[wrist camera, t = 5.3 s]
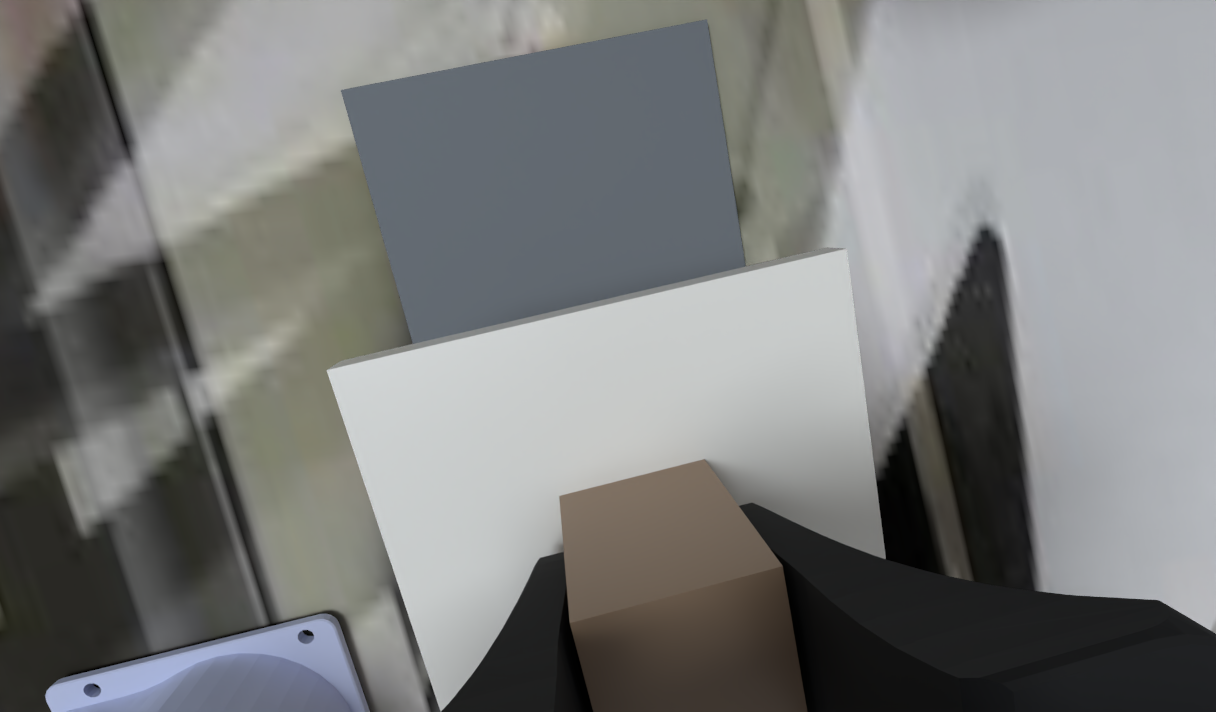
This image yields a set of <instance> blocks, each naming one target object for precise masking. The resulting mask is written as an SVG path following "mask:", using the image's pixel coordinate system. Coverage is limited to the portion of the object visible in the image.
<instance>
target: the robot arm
mask: <svg viewBox="0 0 1216 712" xmlns="http://www.w3.org/2000/svg"><path fill="white" fill-rule="evenodd" d="M739 507H740V508H741V510H742V511H743V513H744V514H745V515H746V517H747V518H748V519H749V521H750V522H751V523H752V525H753V526H754V528H755V529H756V530H757V532H758V533H759V534H760V536H761V537H762V539H763V540H764V541H765V543H766V544H767V545H768V547H769V548H770V549H771V551H772V552H773V554H774V555H775V556H776V558H777V559H778V560H779V562H780V563H781V564H782V566H783V571H784V577H785V583H786V589H787V594H788V600H789V606H790V612H791V618H792V624H793V630H794V636H795V641H796V647H797V653H798V659H799V665H800V671H801V677H802V683H803V689H804V694H805V700H806V706H807V712H1216V634H1215V633H1213V632H1212V631H1210V630H1208V629H1207V628H1205V627H1203V626H1202V625H1200V624H1198V623H1197V622H1195V621H1193V620H1191V619H1190V618H1188V617H1186V616H1185V615H1183V614H1181V613H1180V612H1178V611H1176V610H1174V609H1173V608H1171V607H1169V606H1168V605H1166V604H1164V603H1162V602H1161V601H1158V600H1144V599H1126V598H1108V597H1090V596H1074V595H1063V594H1055V593H1046V592H1038V591H1029V590H1021V589H1014V588H1008V587H1001V586H995V585H989V584H984V583H979V582H974V581H969V580H964V579H959V578H954V577H949V576H944V575H940V574H936V573H932V572H928V571H924V570H921V569H917V568H914V567H910V566H907V565H903V564H900V563H896V562H893V561H889V560H886V559H883V558H880V557H877V556H874V555H871V554H869V553H866V552H863V551H861V550H858V549H855V548H853V547H850V546H847V545H845V544H842V543H840V542H838V541H835V540H833V539H830V538H828V537H826V536H823V535H821V534H819V533H817V532H814V531H812V530H810V529H808V528H806V527H803V526H801V525H799V524H797V523H795V522H793V521H791V520H789V519H787V518H784V517H782V516H780V515H778V514H776V513H774V512H772V511H770V510H768V509H766V508H764V507H762V506H759V505H757V504H755V503H748V504H744V505H740V506H739ZM302 630H309V631H311V632H312V633H313V634H314V636H307V635H305V634H304V633H303V631H302ZM93 683H94V684H96V685H98V686H99V687H100V688H97V687H95V686H94V685H93ZM45 697H46V701H47V703H48V705H49V707H50V709H51V711H52V712H370V710H369V708H368V705H367V702H366V699H365V696H364V693H363V690H362V687H361V685H360V682H359V679H358V676H357V673H356V670H355V667H354V664H353V662H352V659H351V656H350V653H349V650H348V647H347V644H346V641H345V639H344V636H343V633H342V630H341V627H340V624H339V622H338V620H337V619H336V618H335V617H334V616H332V615H329V614H318V615H314V616H310V617H306V618H302V619H298V620H294V621H290V622H286V623H282V624H278V625H274V626H270V627H266V628H262V629H258V630H253V631H249V632H245V633H241V634H237V635H233V636H229V637H225V638H221V639H217V640H213V641H209V642H205V643H201V644H197V645H193V646H189V647H185V648H181V649H177V650H173V651H169V652H165V653H161V654H157V655H153V656H149V657H145V658H141V659H137V660H133V661H129V662H125V663H121V664H117V665H113V666H109V667H105V668H101V669H97V670H93V671H89V672H84V673H80V674H76V675H72V676H68V677H64V678H62V679H59V680H57V681H56V682H55V683H54V684H53V685H52V686H51V687H50V688H49V689H48V690H47V692H46V695H45ZM441 712H593V709H592V705H591V701H590V698H589V694H588V690H587V686H586V683H585V679H584V675H583V671H582V668H581V664H580V660H579V656H578V652H577V649H576V645H575V641H574V637H573V634H572V630H571V626H570V621H569V609H568V597H567V585H566V572H565V560H564V552H561V553H557V554H553V555H549V556H545V557H541V558H539V560H538V561H537V563H536V564H535V566H534V568H533V570H532V573H531V575H530V577H529V579H528V581H527V583H526V585H525V587H524V589H523V591H522V593H521V595H520V597H519V599H518V601H517V603H516V605H515V607H514V608H513V610H512V612H511V614H510V616H509V617H508V619H507V621H506V623H505V625H504V626H503V628H502V630H501V631H500V633H499V635H498V636H497V638H496V639H495V641H494V643H493V644H492V646H491V647H490V649H489V650H488V652H487V654H486V655H485V657H484V658H483V660H482V661H481V663H480V664H479V666H478V667H477V668H476V670H475V671H474V672H473V674H472V675H471V676H470V678H469V679H468V680H467V681H466V683H465V684H464V685H463V686H462V688H461V689H460V690H459V691H458V693H457V694H456V695H455V696H454V698H453V699H452V700H451V701H450V702H449V704H448V705H447V706H446V707H445V708H444V709H443V710H442V711H441Z"/></svg>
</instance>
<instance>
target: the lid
mask: <svg viewBox="0 0 1216 712" xmlns="http://www.w3.org/2000/svg"><path fill="white" fill-rule="evenodd" d="M327 373H328V376H329V379H330V382H331V385H332V388H333V391H334V394H335V397H336V400H337V403H338V406H339V408H340V411H341V414H342V417H343V420H344V423H345V426H346V429H347V432H348V435H349V438H350V441H351V444H352V447H353V450H354V453H355V456H356V459H357V462H358V465H359V468H360V471H361V474H362V477H363V480H364V483H365V486H366V489H367V492H368V495H369V498H370V501H371V504H372V507H373V510H374V513H375V516H376V519H377V522H378V525H379V528H380V531H381V534H382V537H383V540H384V543H385V546H386V549H387V552H388V555H389V558H390V561H391V564H392V567H393V570H394V573H395V576H396V579H397V582H398V585H399V588H400V591H401V594H402V597H403V600H404V603H405V606H406V609H407V612H408V615H409V618H410V621H411V624H412V627H413V630H414V633H415V636H416V639H417V642H418V645H419V648H420V651H421V654H422V657H423V660H424V663H425V666H426V669H427V672H428V675H429V678H430V681H431V684H432V687H433V690H434V693H435V696H436V699H437V702H438V705H439V708H440V711H442V710H443V709H444V708H445V707H446V706H447V705H448V704H449V702H450V701H451V700H452V699H453V698H454V696H455V695H456V694H457V693H458V691H459V690H460V689H461V688H462V686H463V685H464V684H465V683H466V681H467V680H468V679H469V678H470V676H471V675H472V674H473V672H474V671H475V670H476V668H477V667H478V666H479V664H480V663H481V661H482V660H483V658H484V657H485V655H486V654H487V652H488V650H489V649H490V647H491V646H492V644H493V643H494V641H495V639H496V638H497V636H498V635H499V633H500V631H501V630H502V628H503V626H504V625H505V623H506V621H507V619H508V617H509V616H510V614H511V612H512V610H513V608H514V607H515V605H516V603H517V601H518V599H519V597H520V595H521V593H522V591H523V589H524V587H525V585H526V583H527V581H528V579H529V577H530V575H531V573H532V570H533V568H534V566H535V564H536V563H537V561H538V560H539V558H541V557H545V556H549V555H553V554H557V553H561V552H564V560H565V572H566V585H567V597H568V609H569V621H570V626H571V630H572V634H573V637H574V641H575V645H576V649H577V652H578V656H579V660H580V664H581V668H582V671H583V675H584V679H585V683H586V686H587V690H588V694H589V698H590V701H591V705H592V709H593V712H807V706H806V700H805V694H804V689H803V683H802V677H801V671H800V665H799V659H798V653H797V647H796V641H795V636H794V630H793V624H792V618H791V612H790V606H789V600H788V594H787V589H786V583H785V577H784V571H783V566H782V564H781V563H780V562H779V560H778V559H777V558H776V556H775V555H774V554H773V552H772V551H771V549H770V548H769V547H768V545H767V544H766V543H765V541H764V540H763V539H762V537H761V536H760V534H759V533H758V532H757V530H756V529H755V528H754V526H753V525H752V523H751V522H750V521H749V519H748V518H747V517H746V515H745V514H744V513H743V511H742V510H741V508H740V507H739V506H740V505H744V504H748V503H755V504H757V505H759V506H762V507H764V508H766V509H768V510H770V511H772V512H774V513H776V514H778V515H780V516H782V517H784V518H787V519H789V520H791V521H793V522H795V523H797V524H799V525H801V526H803V527H806V528H808V529H810V530H812V531H814V532H817V533H819V534H821V535H823V536H826V537H828V538H830V539H833V540H835V541H838V542H840V543H842V544H845V545H847V546H850V547H853V548H855V549H858V550H861V551H863V552H866V553H869V554H871V555H874V556H877V557H880V558H883V559H886V555H885V548H884V540H883V532H882V524H881V516H880V508H879V500H878V492H877V484H876V476H875V468H874V461H873V453H872V445H871V437H870V429H869V421H868V413H867V405H866V397H865V389H864V381H863V374H862V366H861V358H860V350H859V342H858V334H857V326H856V318H855V310H854V302H853V294H852V287H851V279H850V271H849V263H848V255H847V249H843V248H823V249H819V250H815V251H810V252H806V253H802V254H798V255H793V256H789V257H785V258H780V259H776V260H772V261H767V262H763V263H759V264H755V265H750V266H746V267H742V268H737V269H733V270H729V271H725V272H720V273H716V274H712V275H707V276H703V277H699V278H695V279H690V280H686V281H682V282H677V283H673V284H669V285H664V286H660V287H656V288H652V289H647V290H643V291H639V292H634V293H630V294H626V295H622V296H617V297H613V298H609V299H604V300H600V301H596V302H592V303H587V304H583V305H579V306H574V307H570V308H566V309H561V310H557V311H553V312H549V313H544V314H540V315H536V316H531V317H527V318H523V319H519V320H514V321H510V322H506V323H501V324H497V325H493V326H488V327H484V328H480V329H476V330H471V331H467V332H463V333H458V334H454V335H450V336H446V337H441V338H437V339H433V340H428V341H424V342H420V343H416V344H411V345H407V346H403V347H398V348H394V349H390V350H385V351H381V352H377V353H373V354H368V355H364V356H360V357H355V358H351V359H347V360H343V361H340V362H338V363H337V364H335V365H334V366H332V367H331V368H329V369H328V370H327Z"/></svg>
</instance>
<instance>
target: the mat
mask: <svg viewBox="0 0 1216 712" xmlns="http://www.w3.org/2000/svg"><path fill="white" fill-rule="evenodd" d="M341 92H342V96H343V99H344V103H345V106H346V110H347V113H348V117H349V120H350V124H351V127H352V131H353V134H354V138H355V141H356V145H357V148H358V152H359V155H360V159H361V162H362V166H363V169H364V173H365V176H366V180H367V184H368V187H369V191H370V194H371V198H372V201H373V205H374V208H375V212H376V215H377V219H378V222H379V226H380V229H381V233H382V236H383V240H384V243H385V247H386V250H387V254H388V257H389V261H390V264H391V268H392V271H393V275H394V278H395V282H396V285H397V289H398V293H399V296H400V300H401V303H402V307H403V310H404V314H405V317H406V321H407V324H408V328H409V331H410V335H411V338H412V342H413V344H416V343H420V342H424V341H428V340H433V339H437V338H441V337H446V336H450V335H454V334H458V333H463V332H467V331H471V330H476V329H480V328H484V327H488V326H493V325H497V324H501V323H506V322H510V321H514V320H519V319H523V318H527V317H531V316H536V315H540V314H544V313H549V312H553V311H557V310H561V309H566V308H570V307H574V306H579V305H583V304H587V303H592V302H596V301H600V300H604V299H609V298H613V297H617V296H622V295H626V294H630V293H634V292H639V291H643V290H647V289H652V288H656V287H660V286H664V285H669V284H673V283H677V282H682V281H686V280H690V279H695V278H699V277H703V276H707V275H712V274H716V273H720V272H725V271H729V270H733V269H737V268H742V267H746V266H745V260H744V253H743V247H742V240H741V234H740V228H739V221H738V215H737V208H736V202H735V196H734V189H733V183H732V177H731V170H730V164H729V157H728V151H727V145H726V138H725V132H724V125H723V119H722V113H721V106H720V100H719V93H718V87H717V81H716V74H715V68H714V61H713V55H712V49H711V42H710V36H709V29H708V23H707V20H702V21H696V22H691V23H686V24H681V25H676V26H671V27H665V28H660V29H655V30H650V31H645V32H640V33H634V34H629V35H624V36H619V37H614V38H608V39H603V40H598V41H593V42H588V43H583V44H577V45H572V46H567V47H562V48H557V49H552V50H546V51H541V52H536V53H531V54H526V55H520V56H515V57H510V58H505V59H500V60H495V61H489V62H484V63H479V64H474V65H469V66H464V67H458V68H453V69H448V70H443V71H438V72H432V73H427V74H422V75H417V76H412V77H407V78H401V79H396V80H391V81H386V82H381V83H375V84H370V85H365V86H360V87H355V88H350V89H344V90H341Z"/></svg>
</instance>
